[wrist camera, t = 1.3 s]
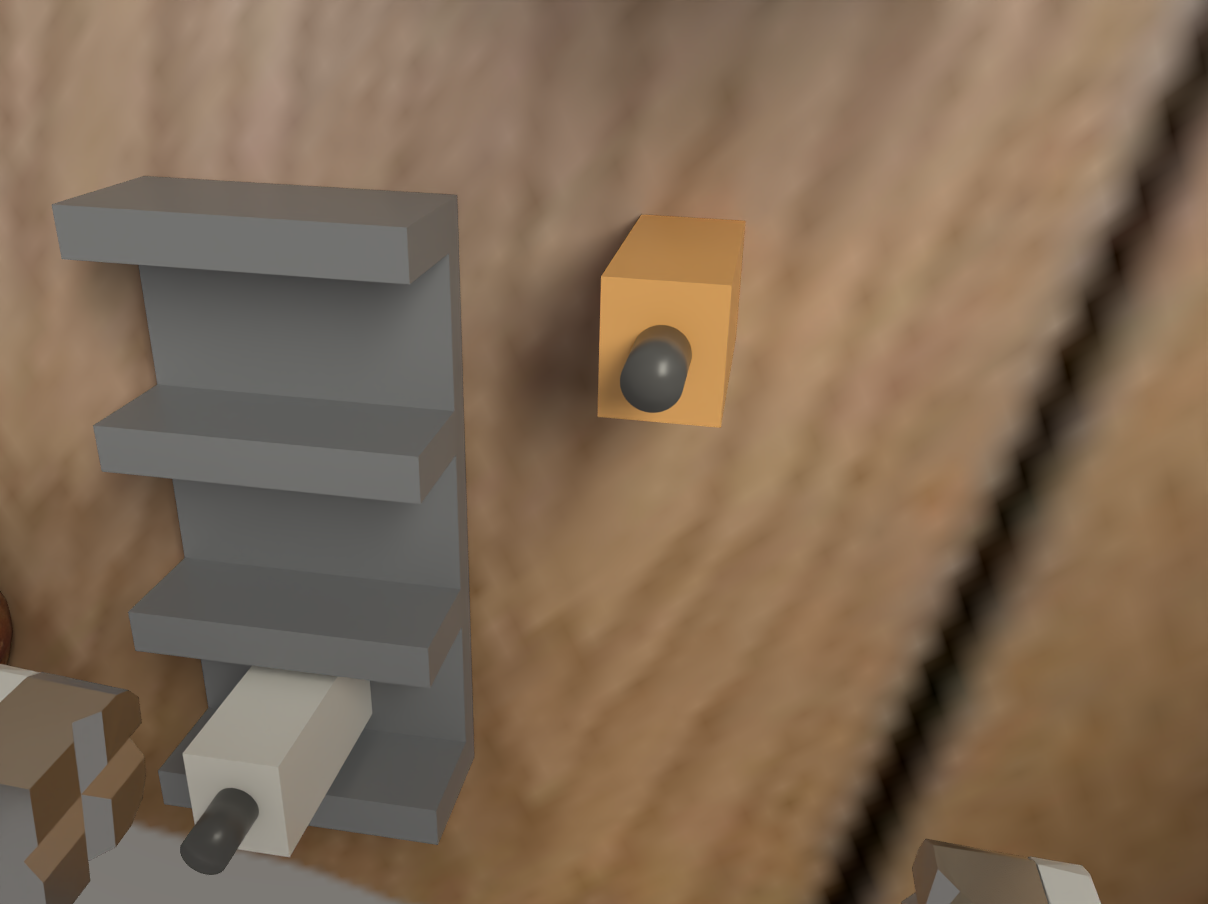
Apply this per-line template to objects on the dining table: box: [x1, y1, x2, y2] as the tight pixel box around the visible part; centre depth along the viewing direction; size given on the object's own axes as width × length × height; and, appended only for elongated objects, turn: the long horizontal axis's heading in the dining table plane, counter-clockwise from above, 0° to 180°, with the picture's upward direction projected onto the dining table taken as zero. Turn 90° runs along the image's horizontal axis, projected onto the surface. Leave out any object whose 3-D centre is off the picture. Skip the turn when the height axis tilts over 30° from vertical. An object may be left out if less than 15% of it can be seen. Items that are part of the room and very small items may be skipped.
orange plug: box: [598, 214, 745, 428], centre depth 27 cm, size 3×4×9 cm
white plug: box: [180, 666, 372, 875], centre depth 34 cm, size 3×4×9 cm
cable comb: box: [52, 176, 474, 845], centre depth 34 cm, size 10×21×4 cm, turn 179°
